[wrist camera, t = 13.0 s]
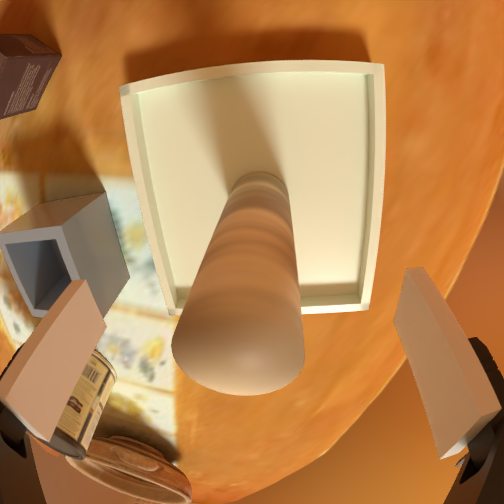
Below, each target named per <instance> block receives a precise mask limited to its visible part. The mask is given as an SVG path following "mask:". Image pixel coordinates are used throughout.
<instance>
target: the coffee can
mask: <svg viewBox="0 0 504 504" xmlns="http://www.w3.org/2000/svg"><path fill="white" fill-rule="evenodd" d="M116 379H117V376H116V373H115V370H114V369H113V367H112V366H111V364H110V363H109V362H108V361H107V360H106V359H105V358H104V357H103V356H102V355H100V354H99V353H98V352H96V351H95V350H94V351H93V353H92V355H91V356H90V358H89V360H88V362H87V364H86V366H85V368H84V370H83V372H82V374H81V376H80V378H79V380H78V382H77V384H76V386H75V388H74V390H73V392H72V394H71V396H70V398H69V400H68V402H67V404H66V406H65V408H64V410H63V413H62V415H61V417H60V419H59V421H58V424H57V426H56V428H55V430H54V433H53V435H52V437H51V439H50V442H48V441H45V440H43V439H41V438H39V437H36V436H35V435H34V434H33V433H32V432H31V431H30V430H29V429H27V431H28V432H29V433H30V434H31V435H32V436H34V437H35V438H36V439H38V440H39V441H41V442H42V443H44V444H45V445H47V446H48V447H50V448H52V449H54V450H55V451H57V452H59V453H61V454H64V455H66V456H68V457H71V458H74V459H77V460H85V458H86V452H87V449H88V447H89V444H90V441H91V439H92V436H93V434H94V431H95V429H96V426H97V424H98V421H99V419H100V416H101V414H102V411H103V409H104V406H105V404H106V402H107V399H108V397H109V395H110V392H111V390H112V388H113V386H114V384H115V382H116Z"/></svg>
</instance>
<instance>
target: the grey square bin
mask: <svg viewBox="0 0 504 504" xmlns="http://www.w3.org/2000/svg"><path fill="white" fill-rule="evenodd" d="M0 248H1V250H2V253H3V255H4V258H5V260H6V263H7V265H8V267H9V270H10V272H11V274H12V276H13V279H14V281H15V283H16V285H17V287H18V289H19V291H20V293H21V295H22V297H23V299H24V301H25V303H26V305H27V307H28V309H29V311H30V313H31V315H32V316H33V317H40V318H43V317H44V316H45V315H46V313H47V312H48V311H49V309H50V308H51V307H52V306H53V304H54V303H55V302H56V300H57V299H58V298H59V297H60V295H61V294H62V293H63V292H64V290H65V289H66V288H67V287H68V285H69V284H70V283H71V282H72V281H73V280H86V281H87V283H88V286H89V288H90V291H91V293H92V295H93V298H94V300H95V302H96V304H97V307H98V309H99V311H100V313H101V315H102V318H103V319H104V317H105V315H106V314H107V312H108V311H109V309H110V308H111V306H112V304H113V303H114V301H115V300H116V298H117V297H118V295H119V294H120V292H121V291H122V289H123V287H124V286H125V284H126V283H127V281H128V280H129V278H130V276H129V273H128V270H127V266H126V263H125V260H124V257H123V254H122V250H121V247H120V244H119V240H118V237H117V233H116V230H115V226H114V222H113V219H112V215H111V211H110V207H109V203H108V199H107V195H106V192H102V193H95V194H89V195H83V196H78V197H72V198H66V199H61V200H56V201H51V202H46V203H41V204H38V205H37V206H35V207H34V208H32V209H31V210H29V211H28V212H26V213H25V214H23V215H22V216H20V217H19V218H18V219H16V220H15V221H13V222H12V223H11V224H9V225H8V226H6V227H5V228H4V229H2V230H1V231H0Z"/></svg>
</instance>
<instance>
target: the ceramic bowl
mask: <svg viewBox="0 0 504 504" xmlns="http://www.w3.org/2000/svg"><path fill="white" fill-rule="evenodd" d="M64 457H65V459H66V460H67V461H68V462H69V463H70V464H71V465H72V466H73V467H74V468H76V469H77V470H78V471H80V472H81V473H83V474H85V475H86V476H88V477H89V478H91V479H93V480H95V481H97V482H99V483H101V484H103V485H105V486H107V487H110V488H112V489H114V490H117V491H119V492H122V493H125V494H127V495H130V496H134V497H137V498H140V499H144V500H147V501H152V502H156V503H162V504H189V503H191V501H192V500H191V494H192V488H191V484H190V482H189V481H188V479H187V477H186V476H185V474H184V473H183V472H182V471H181V470H179V469H178V468H177V467H176V466H174V465H173V464H171V463H170V462H168V461H167V460H165V459H164V456H163V454H162V453H161V452H159V451H158V450H156V449H155V448H153V447H151V446H149V445H147V444H145V443H143V442H140V441H137V440H135V439H131V438H128V437H124V436H111V437H109V438H104V437H93V436H92V439H91V441H90V444H89V447H88V449H87V452H86V458H85V460H77V459H74V458H71V457H68V456H66V455H64Z"/></svg>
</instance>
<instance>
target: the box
mask: <svg viewBox="0 0 504 504" xmlns="http://www.w3.org/2000/svg"><path fill="white" fill-rule="evenodd" d="M61 57H62V56H61V55H60V54H58V53H57V52H55V51H54V50H52V49H51V48H49V47H48V46H47V45H45V44H44V43H42V42H40V41H39V40H38V39H36V38H34V37H33V36H31V35H21V34H0V119H3V118H7V117H10V116H14V115H17V114H21V113H25V112H29V111H32V110H36V108H37V105H38V103H39V101H40V99H41V96H42V94H43V92H44V90H45V88H46V86H47V84H48V82H49V80H50V78H51V76H52V74H53V72H54V70H55V68H56V66H57V64H58V63H59V61H60V59H61Z"/></svg>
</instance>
